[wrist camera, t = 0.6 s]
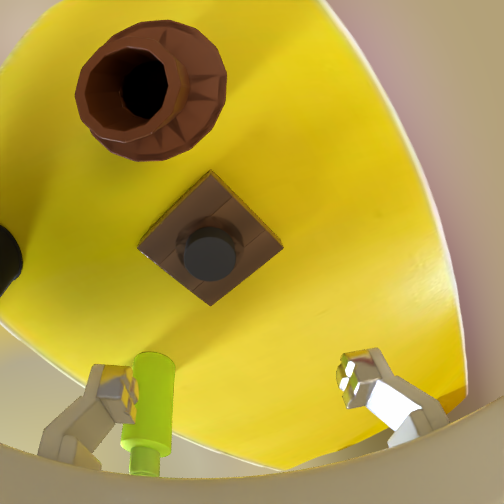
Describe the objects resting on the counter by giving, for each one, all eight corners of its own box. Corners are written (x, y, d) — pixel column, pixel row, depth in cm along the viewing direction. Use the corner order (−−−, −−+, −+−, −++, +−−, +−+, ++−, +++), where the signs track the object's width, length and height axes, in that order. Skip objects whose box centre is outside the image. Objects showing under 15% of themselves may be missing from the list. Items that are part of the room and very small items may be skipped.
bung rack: (140, 239, 29) (136, 248, 27) (210, 169, 26) (210, 174, 25) (210, 296, 33) (210, 306, 32) (280, 239, 31) (284, 248, 29)
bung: (177, 239, 29) (172, 260, 26) (210, 208, 28) (209, 226, 25) (210, 267, 31) (210, 290, 28) (242, 239, 30) (246, 260, 27)
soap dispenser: (123, 368, 38) (103, 497, 21) (148, 345, 36) (130, 492, 19) (156, 385, 41) (148, 509, 23) (183, 365, 39) (182, 504, 21)
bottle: (127, 94, 22) (10, 110, 7) (184, 40, 20) (137, -38, 6) (179, 144, 25) (130, 224, 10) (237, 92, 23) (275, 88, 9)
